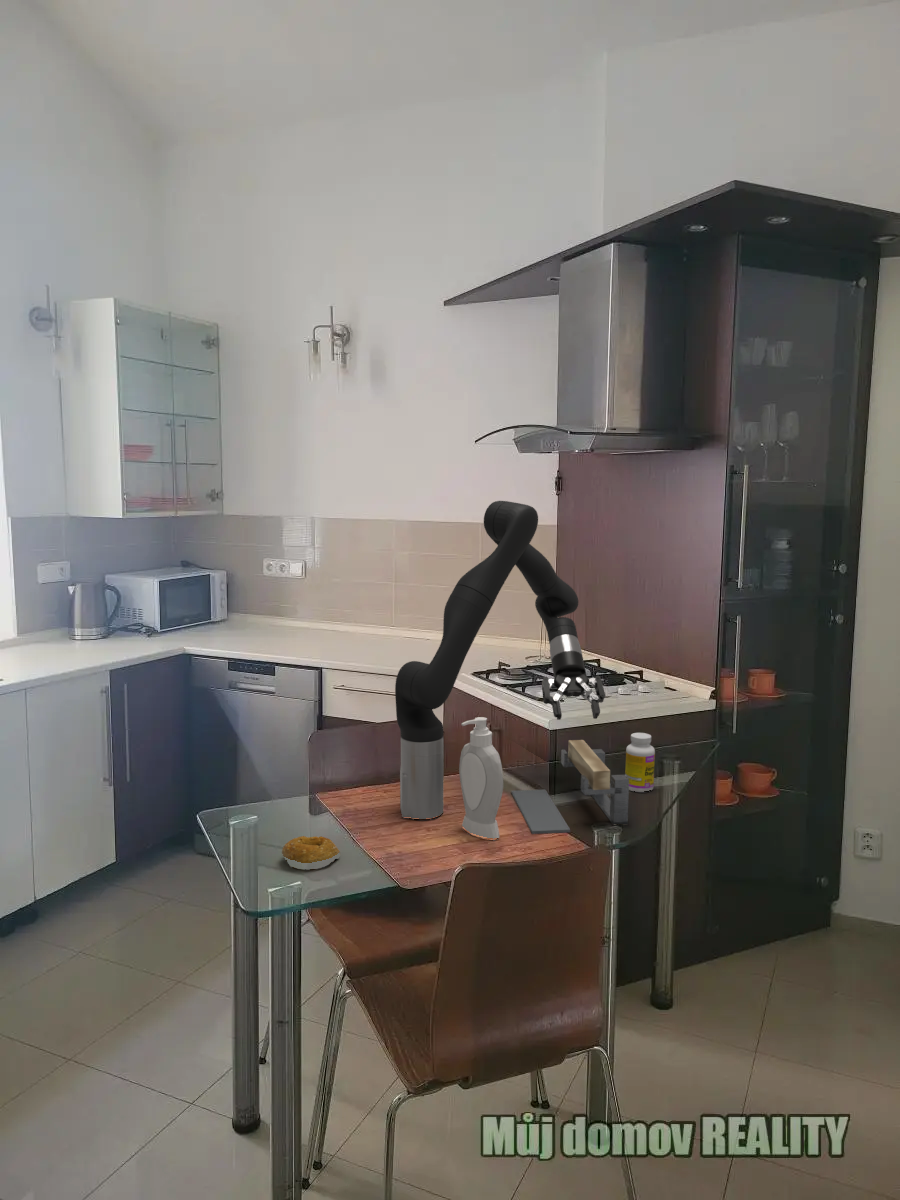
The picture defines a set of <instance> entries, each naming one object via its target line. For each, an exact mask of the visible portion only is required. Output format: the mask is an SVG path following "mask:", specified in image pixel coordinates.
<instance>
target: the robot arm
mask: <svg viewBox="0 0 900 1200" xmlns="http://www.w3.org/2000/svg"><path fill="white" fill-rule="evenodd" d="M483 515H484V516H483V527H484V528H483V529H484V530H485V532H486V534H487V535H488V536H489V538H490V539H491V540H492V542H494V543H495V544H496V545H497V547H496V548H495V549H494V550H493V551H492V552H491V554H489V556H488V557H486V558H484V559H483V561H481V562H480V563H478V564H476V565H475V566H474V567H472V568H471V569H470V570H468V571H467V572H466V573H465V574H463V575H462V576H461V577H460V578H459V580H458V581H457V583H456V585H455V586H454V588H453V590H452V591H451V592H450V595H449V597H448V598H447V601H446V603H445V605H444V610H443V629H442V637H441V640H440V641H441V642H440V644H439V646H438V649H437V650H436V652H435V654H434V656H433V657H432V659H431V661H430V663H427V662H426V663H425V662H422V661H419V660H418V661H417V660H413V661H408V662H406V663H405V664H403V665H402V666H401V667H400V669H399V670H398V673H397V675H396V679H395V684H394V688H395V689H394V690H395V691H394V692H395V693H394V696H395V709H396V710H395V711H396V712H395V713H396V721H397V725H398V727H399V729H400V768H399V773H400V774H399V779H400V781H399V782H400V783H399V786H400V787H399V788H400V789H399V790H400V791H399V794H400V795H399V796H400V797H399V799H400V801H399V802H400V804H399V805H400V806H399V807H400V813H401V814H402V815H401V818H402V817H411V818H419V819H426V818H433V817H436V816H439V815H441V814H442V813H443V814H444V805H445V804H444V725H443V724H444V723H442V721H441V720H440V719H439V718H438V717H437V716H436V714H435V713H434V710H437V709H438V708H440V707H441V706H443V704H444V703H446V701H447V699H448V698H449V697H450V695H451V693H452V691H453V688H454V685H455V684H456V681H457V679H458V676H459V673H460V672H461V670H462V669H461V668H462V666H463V664H464V661H465V658H466V656H467V655H468V653H469V651H470V648H471V646H472V645H473V642H474V641H475V639H476V637H477V634H478V633H479V631H480V628H481V627H482V625H483V624H484V622H485V621H486V618H487V617H488V614H489V613H490V611H491V610H492V607H493V606H494V604H495V602H496V599H497V597H498V595H499V593H500V591H501V590H502V588H503V586H504V585H505V582H506V580H507V579H508V578H509V576H510V574H511V572H512V571H513V568H514V567H516V568H517V569H518V570H519V572H520V573H521V575H522V576H523V578H524V579H525V581H526V582H527V584H528V586H529V587H530V589H531V590H532V592H533V593H534V594H535V596H537V597H536V599H535V600H534V602H535V604H534V606H535V609H536V611H537V614H538V615H539V617H540V618H541V620H542V622H543V623H544V626H545V629H546V632H547V637H548V644H549V655H550V657H549V658H550V661H551V666H552V671H553V672H552V673H553V677H554V678H549V677H548V676H544V677H543V678H542V681H541V690H542V691H541V692H542V699H543V700H542V702H543V703H544V704H545V705H551V707H552V711H553V717H554V718H556V720H557V721H558V720H559V721H560V720H562V715H563V714H562V709H561V702H560V700H562V698H563V696H565V697H566V698H569V697H571V698H572V697H576V698H578V697H580V696H581V697H582V698H583V699H584V700H585V701H588V702H589V704H590V709H591V714H592V717H593V718H592V719H594V720H597V719H598V717H599V716H600V713H601V709H600V708H601V707H600V704H599V703H601V704H602V703H603V702H604V701H605V698H606V692H605V688H604V685H603V681H602V678H601V676H600V675H596V676H595V677H589V676H588V675H587V672H586V671H587V670H586V666H585V662H584V657H583V656H584V655H583V651H582V646H581V645H580V641H579V636H578V632H577V627H576V623H575V621H574V620H573V619H572V618H569V617H565V616H567V615H570V614H572V613H574V612H575V611H576V610H577V609H578V607H579V597H578V595H577V592H576V591H575V590H574V589H573V587H572V586H570V584H568V583H567V582H566V581H564V580H563V579H562V578H560V576H558V575H557V572H556V570H555V569H554V567H553V565H552V564H551V562H550V561H549V559H547V558H546V557H545V555H544V554H542V552H540V551H539V550H538V549H536V548H535V547H534V546H533V545H532V544H530V543H531V542H532V540H533V539H534V537H535V534H536V532H537V528H538V526H539V524H538V523H539V515H538V512H537V510H536V509H535V508H534V507H533V506H532V505H528V504H525V503H524V504H523V503H519V502H515V501H508V500H497V501H493V502H491V503H490V504H489V505H488V506H487V508H486V509H485V513H484V514H483ZM563 616H564V617H563ZM589 685H591V686H592V688H594V690H595V692H594V691H593V690H592V688H591V687H590V686H589ZM552 686H554V687H555V688H556V689H557V691H556V693H555V694H554V696H551V691H550V689H551V688H552ZM443 814H442V815H443ZM442 815H441V816H442Z"/></svg>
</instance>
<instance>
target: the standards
mask: <svg viewBox="0 0 900 1200" xmlns="http://www.w3.org/2000/svg"><path fill="white" fill-rule="evenodd" d="M591 749H592V748H591ZM592 750H593V752H594V753H595V754H596V755H597V756H598V757H599V758H600V760H601V761H602V762H603V763H604V764H605V765H606V752H605V751H604V750H603V749H602V748H597V749H592ZM560 753H561V754H560V755H561V757H560V764H561V765H562V767H563V768H573V767H574V768H576V767H575V765H574V764H573V763H572V761H571V760H570V759H569V758H568V751H566V749H561V752H560ZM580 791H581V792H582V794H583V795H584V796H588V795H589V796H591V797H592V798H593V800H594V801H595V803H596V804H597V805H598V806H599V808H600V809H601V811H602V812H603V814H604V815H605V816H606V817H607V818H608V820H609V821H610V823H611V824H612V823H613V824H628V823H629V793H630V790H629V779H628V778H627V777H626V775H625V774H610V789H603V790H593V789H592V787H591V786H590V785H589V784H588V779H587V777H586V776H585V775H582V774H581V775H580ZM608 795H609V796H610V797H609V796H608ZM613 824H612V825H613ZM628 825H629V824H628Z"/></svg>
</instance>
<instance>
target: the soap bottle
mask: <svg viewBox="0 0 900 1200" xmlns="http://www.w3.org/2000/svg"><path fill="white" fill-rule="evenodd" d="M487 721H488V718H487V717H484V716H480V717H479V716H478V717H475V718H474V719H470V720H466V721H464V722H461V726H462V727H464V726H467V725H475V726H474V727H473V730H471V731H470V732H469V737H470V739H469V742H468V743H466V744H464V745H463V748H462V749H461V753H460V757H459V766H458V767H459V769H458V770H459V771H458V773H459V783H460V787H461V788H460V789H461V793H462V799H463V800H462V801H463V805H464V810H465V814H464V816H463V820H462V824H461V827H462V826H463V827H464V828H465V829H466V830H467V831H469V832H470V833H473V834H476V835H479V836H483V837H487V838H493V839H494V838H499V839H500V830H499V826H498V821H497V820H496V817H497V814H498V811H499V808H500V805H501V800H502V796H503V791H504V774H503V773H504V771H503V765H502V760H501V757H500V754H499V752H498V750H496V748H495V747H494V745H493V743H492V742H493V732H492V731H491V730H490V729H489V727H487Z"/></svg>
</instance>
